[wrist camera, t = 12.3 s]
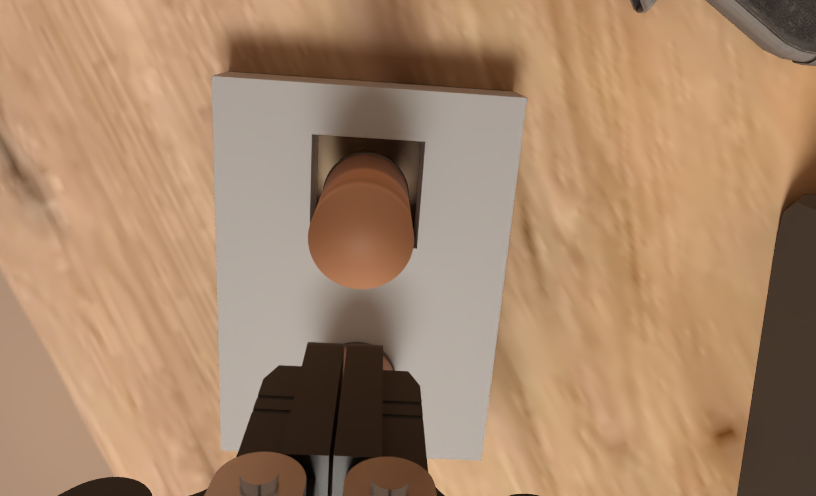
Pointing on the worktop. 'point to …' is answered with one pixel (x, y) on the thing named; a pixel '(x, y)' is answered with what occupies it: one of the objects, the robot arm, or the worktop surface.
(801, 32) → the handgun
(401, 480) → the robot arm
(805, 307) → the handheld gaming console
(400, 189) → the cherry peg
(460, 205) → the jig board
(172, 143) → the worktop surface
